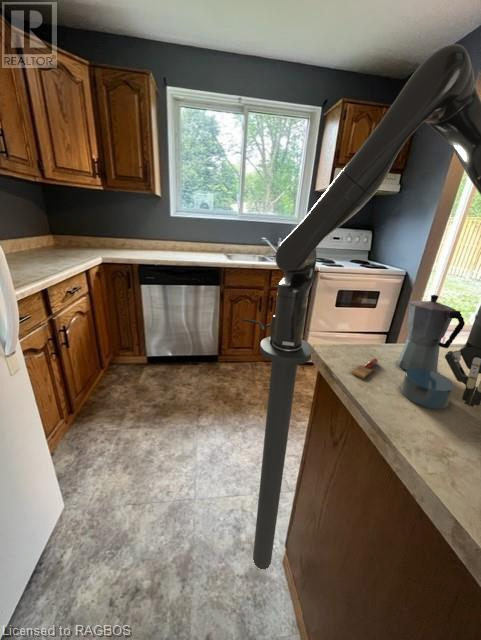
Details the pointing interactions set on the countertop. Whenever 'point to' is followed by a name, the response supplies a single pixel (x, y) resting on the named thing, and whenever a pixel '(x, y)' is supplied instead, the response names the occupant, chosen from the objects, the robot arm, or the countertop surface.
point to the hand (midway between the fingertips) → (469, 403)
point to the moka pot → (427, 333)
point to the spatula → (364, 369)
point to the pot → (427, 388)
